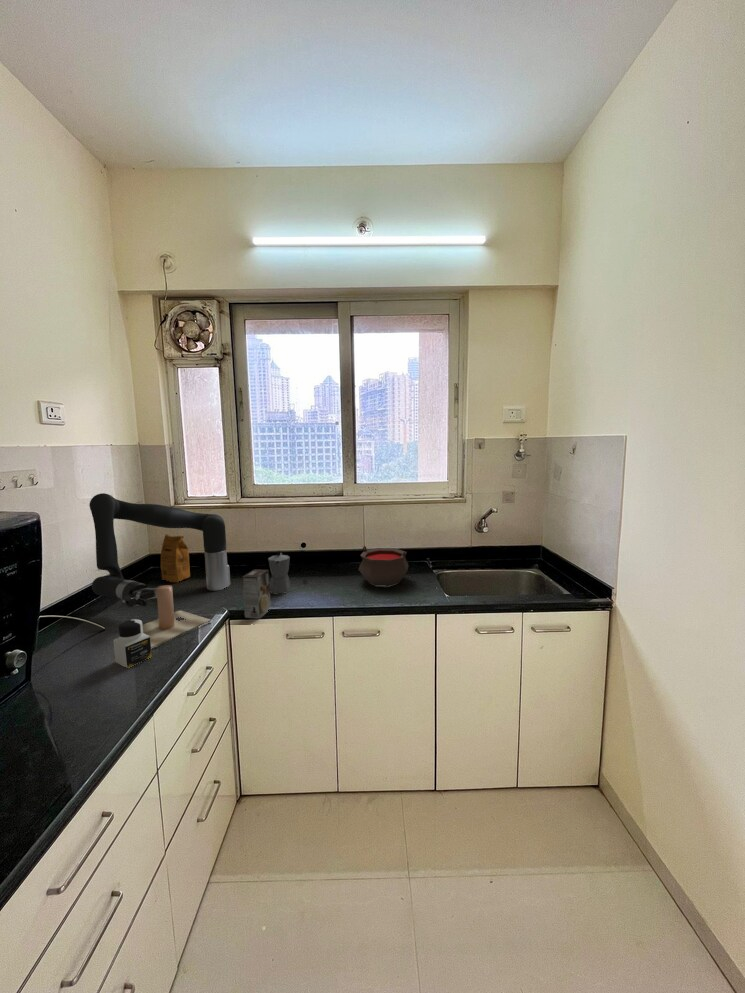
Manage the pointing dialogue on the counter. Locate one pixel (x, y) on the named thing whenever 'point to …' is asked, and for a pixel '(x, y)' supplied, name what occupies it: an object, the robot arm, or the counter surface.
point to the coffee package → (174, 559)
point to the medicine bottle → (131, 644)
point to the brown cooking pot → (383, 565)
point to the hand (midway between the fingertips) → (158, 599)
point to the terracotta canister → (165, 607)
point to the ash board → (180, 627)
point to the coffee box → (256, 593)
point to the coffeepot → (279, 573)
